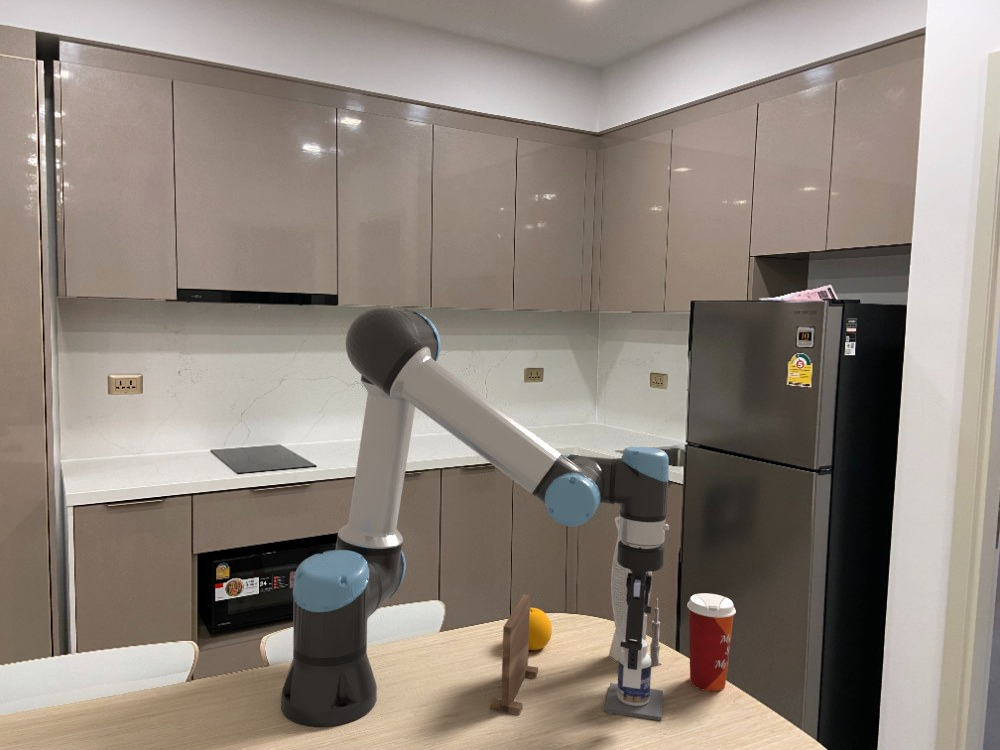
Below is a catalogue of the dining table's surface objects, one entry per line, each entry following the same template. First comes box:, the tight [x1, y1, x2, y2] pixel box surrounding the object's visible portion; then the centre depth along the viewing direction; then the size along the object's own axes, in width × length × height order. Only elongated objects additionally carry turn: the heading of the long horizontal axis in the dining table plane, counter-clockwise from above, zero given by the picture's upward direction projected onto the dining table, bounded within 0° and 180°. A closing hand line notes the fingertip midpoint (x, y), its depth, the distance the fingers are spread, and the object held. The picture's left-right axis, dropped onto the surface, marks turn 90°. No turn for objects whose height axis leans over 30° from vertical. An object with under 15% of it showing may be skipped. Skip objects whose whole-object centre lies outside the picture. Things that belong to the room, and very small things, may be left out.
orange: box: [528, 607, 553, 651], centre depth 142 cm, size 8×8×8 cm
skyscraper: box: [608, 516, 662, 668], centre depth 137 cm, size 8×8×28 cm
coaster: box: [604, 682, 664, 722], centre depth 122 cm, size 9×9×1 cm
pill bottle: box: [617, 639, 652, 706], centre depth 122 cm, size 5×5×10 cm
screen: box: [488, 594, 539, 716], centre depth 124 cm, size 5×15×14 cm, turn 166°
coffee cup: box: [686, 592, 736, 692], centre depth 129 cm, size 8×8×15 cm
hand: (634, 667), depth 122 cm, fingers open, 13 cm apart
